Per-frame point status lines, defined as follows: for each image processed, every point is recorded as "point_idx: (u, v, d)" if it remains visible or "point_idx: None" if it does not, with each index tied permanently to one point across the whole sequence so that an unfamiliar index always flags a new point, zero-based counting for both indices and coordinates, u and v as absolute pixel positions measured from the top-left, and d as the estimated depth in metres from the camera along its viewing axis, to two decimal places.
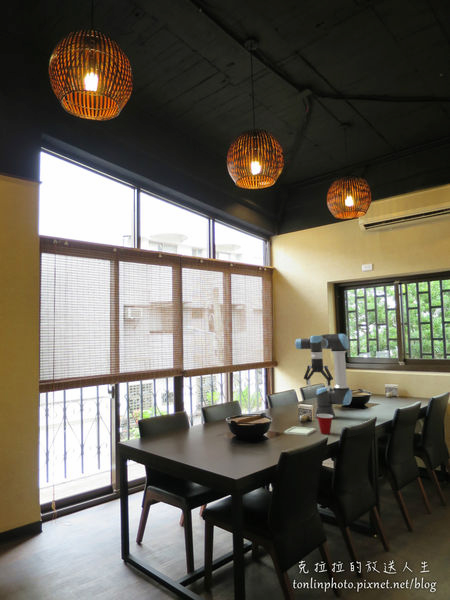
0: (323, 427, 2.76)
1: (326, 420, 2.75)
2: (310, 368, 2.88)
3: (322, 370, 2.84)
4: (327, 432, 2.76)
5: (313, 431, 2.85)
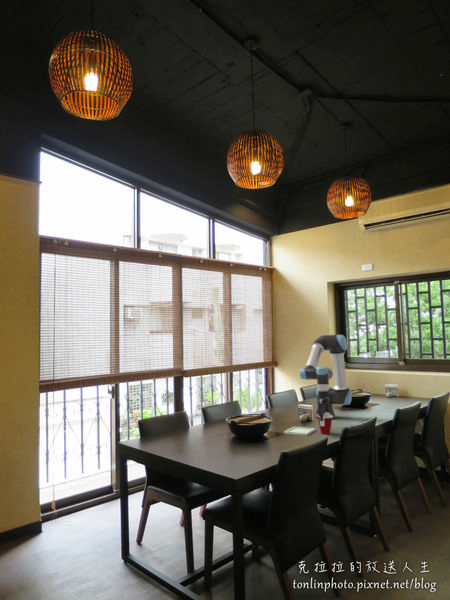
0: (323, 427, 2.76)
1: (326, 420, 2.75)
2: None
3: None
4: (327, 432, 2.76)
5: (313, 431, 2.85)
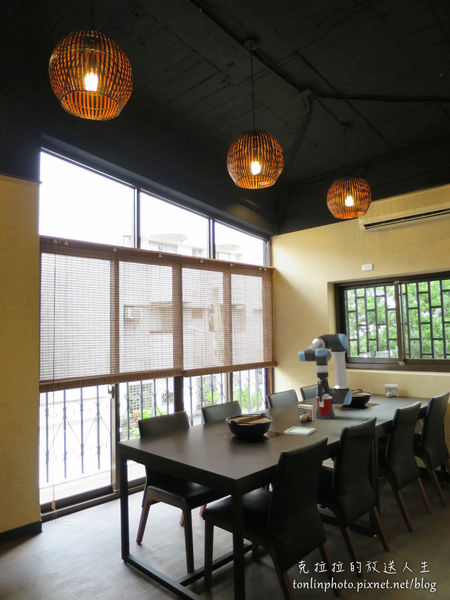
0: (322, 408, 2.77)
1: (325, 401, 2.76)
2: None
3: None
4: (326, 413, 2.78)
5: (313, 431, 2.85)
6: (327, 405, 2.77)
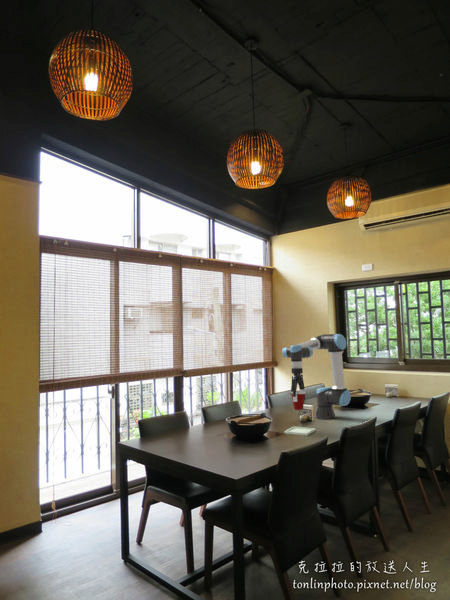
0: (296, 403, 2.84)
1: (299, 396, 2.83)
2: None
3: None
4: (300, 408, 2.84)
5: (313, 431, 2.85)
6: (301, 400, 2.84)
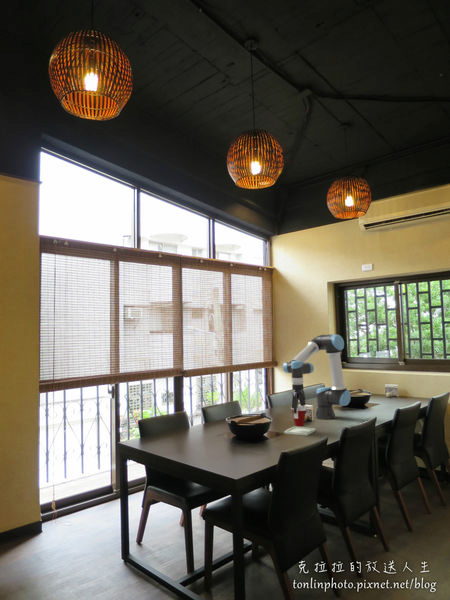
0: (297, 419, 2.83)
1: (300, 413, 2.82)
2: None
3: None
4: (301, 424, 2.83)
5: (313, 431, 2.85)
6: (302, 417, 2.83)
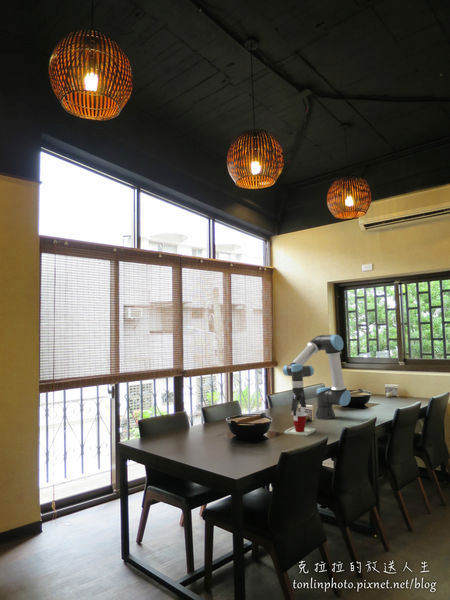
0: (297, 425, 2.83)
1: (300, 418, 2.82)
2: None
3: (298, 399, 2.84)
4: (301, 430, 2.83)
5: (313, 431, 2.85)
6: (302, 422, 2.83)
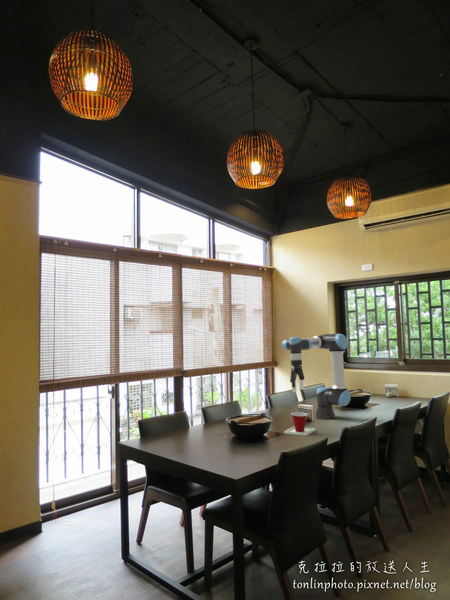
0: (297, 425, 2.83)
1: (300, 418, 2.82)
2: None
3: (297, 371, 2.88)
4: (301, 430, 2.83)
5: (313, 431, 2.85)
6: (302, 422, 2.83)
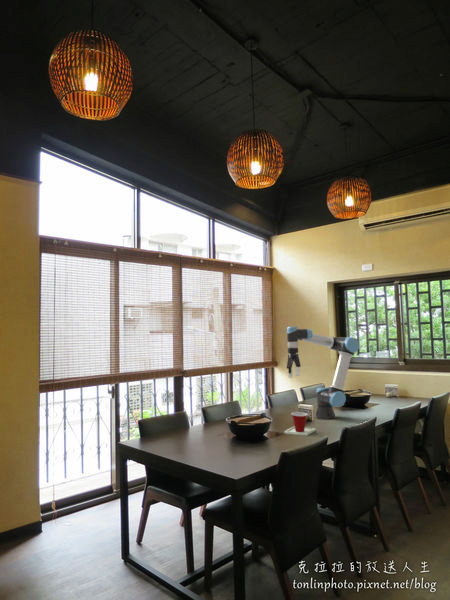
0: (297, 425, 2.83)
1: (300, 418, 2.82)
2: None
3: None
4: (301, 430, 2.83)
5: (313, 431, 2.85)
6: (302, 422, 2.83)
